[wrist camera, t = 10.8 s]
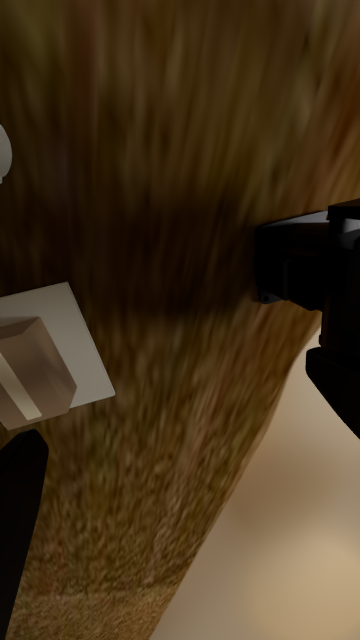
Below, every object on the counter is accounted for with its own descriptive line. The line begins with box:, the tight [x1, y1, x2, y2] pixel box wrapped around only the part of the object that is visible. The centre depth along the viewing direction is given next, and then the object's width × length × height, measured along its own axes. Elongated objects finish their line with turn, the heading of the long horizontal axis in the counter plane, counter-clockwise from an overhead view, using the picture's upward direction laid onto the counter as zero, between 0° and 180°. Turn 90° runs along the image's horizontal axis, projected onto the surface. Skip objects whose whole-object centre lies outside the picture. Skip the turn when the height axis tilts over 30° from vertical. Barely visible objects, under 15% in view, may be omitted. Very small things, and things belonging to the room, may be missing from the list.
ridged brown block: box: [0, 317, 77, 430], centre depth 17 cm, size 7×4×3 cm, turn 13°
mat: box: [0, 281, 115, 424], centre depth 18 cm, size 10×11×1 cm
